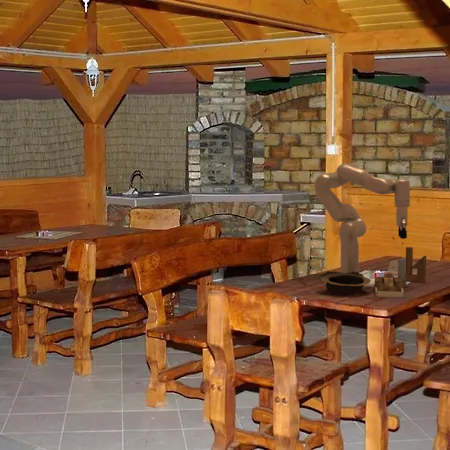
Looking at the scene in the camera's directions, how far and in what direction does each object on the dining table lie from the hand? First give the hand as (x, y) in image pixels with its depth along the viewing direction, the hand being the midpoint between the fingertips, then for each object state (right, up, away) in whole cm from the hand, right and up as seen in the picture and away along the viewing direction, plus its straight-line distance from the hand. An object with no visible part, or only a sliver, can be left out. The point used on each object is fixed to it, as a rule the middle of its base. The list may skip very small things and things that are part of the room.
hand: (402, 237), depth 420 cm
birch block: (-10, -24, -13) cm, 29 cm away
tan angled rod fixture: (+10, -24, +15) cm, 30 cm away
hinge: (+8, -22, +34) cm, 41 cm away
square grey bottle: (-1, -25, 0) cm, 25 cm away
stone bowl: (-31, -27, -14) cm, 43 cm away
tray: (-11, -27, -21) cm, 36 cm away
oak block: (-9, -23, -9) cm, 27 cm away
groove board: (-9, -26, -9) cm, 29 cm away
